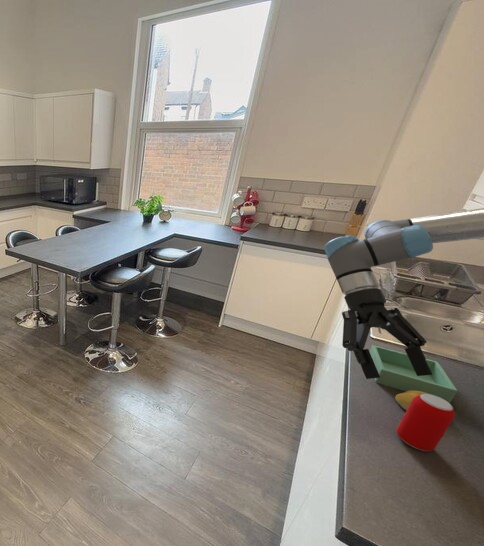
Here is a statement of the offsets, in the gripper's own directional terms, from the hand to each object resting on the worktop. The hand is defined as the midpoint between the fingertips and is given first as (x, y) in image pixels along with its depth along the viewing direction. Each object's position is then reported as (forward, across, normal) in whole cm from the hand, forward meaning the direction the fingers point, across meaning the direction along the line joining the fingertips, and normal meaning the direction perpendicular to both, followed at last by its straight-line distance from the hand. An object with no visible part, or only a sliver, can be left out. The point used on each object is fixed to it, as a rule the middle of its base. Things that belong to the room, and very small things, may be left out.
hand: (399, 377), depth 73 cm
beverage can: (+14, 0, -4) cm, 14 cm away
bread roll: (+8, -13, -10) cm, 18 cm away
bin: (0, -22, -17) cm, 28 cm away
